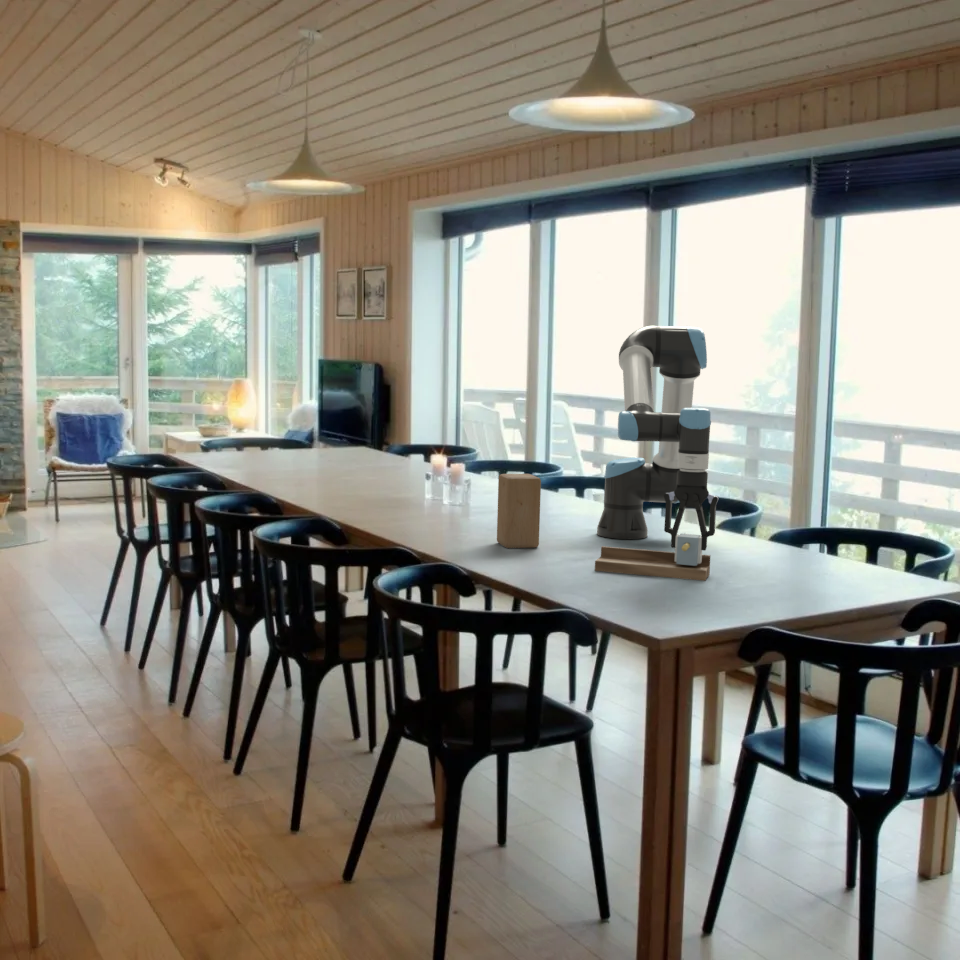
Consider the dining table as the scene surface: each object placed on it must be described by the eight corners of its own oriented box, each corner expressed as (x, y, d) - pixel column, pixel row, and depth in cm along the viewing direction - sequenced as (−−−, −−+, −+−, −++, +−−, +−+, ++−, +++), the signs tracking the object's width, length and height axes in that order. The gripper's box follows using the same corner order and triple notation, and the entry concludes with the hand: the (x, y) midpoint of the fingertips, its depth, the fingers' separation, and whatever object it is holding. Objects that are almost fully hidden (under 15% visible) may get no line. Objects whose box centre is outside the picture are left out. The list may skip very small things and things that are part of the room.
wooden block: (505, 549, 318) (507, 477, 315) (495, 542, 327) (497, 473, 325) (539, 548, 321) (542, 477, 318) (528, 541, 330) (531, 473, 328)
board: (601, 564, 299) (602, 546, 299) (709, 574, 291) (710, 555, 290) (594, 570, 292) (595, 551, 291) (705, 580, 283) (706, 560, 282)
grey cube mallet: (679, 560, 291) (680, 533, 290) (699, 562, 289) (700, 535, 288) (673, 567, 281) (674, 539, 280) (693, 569, 280) (695, 541, 279)
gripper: (654, 469, 284) (649, 561, 287) (727, 473, 278) (722, 567, 281) (659, 466, 291) (655, 556, 294) (730, 470, 285) (725, 562, 288)
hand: (688, 561), depth 288 cm, fingers closed on grey cube mallet, 5 cm apart
